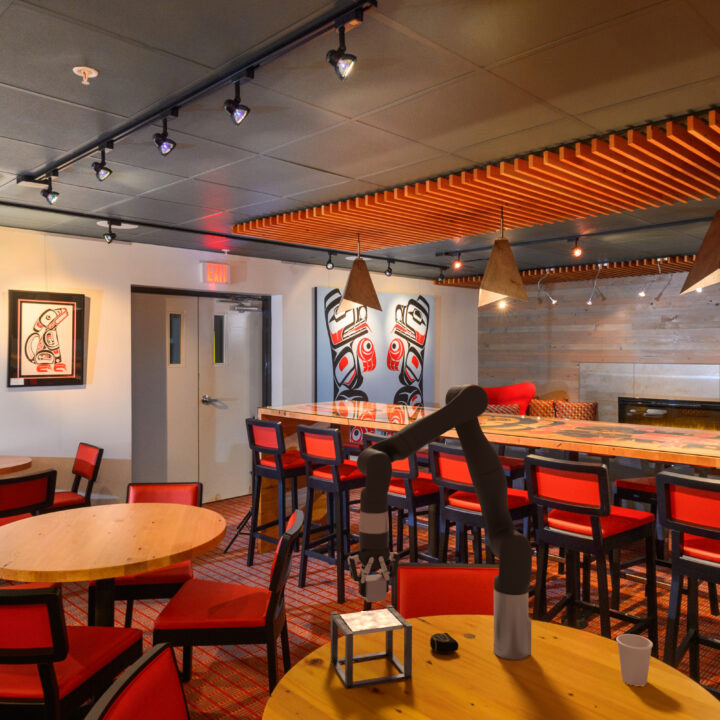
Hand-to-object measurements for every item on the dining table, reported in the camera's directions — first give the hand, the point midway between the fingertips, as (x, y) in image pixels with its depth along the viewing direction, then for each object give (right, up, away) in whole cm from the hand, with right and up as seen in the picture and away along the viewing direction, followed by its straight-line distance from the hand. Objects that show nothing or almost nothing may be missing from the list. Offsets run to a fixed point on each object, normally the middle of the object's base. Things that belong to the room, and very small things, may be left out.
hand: (373, 595), depth 161 cm
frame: (-1, -20, +1) cm, 20 cm away
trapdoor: (-1, -8, +2) cm, 8 cm away
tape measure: (+20, -20, +14) cm, 32 cm away
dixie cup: (+65, -20, -3) cm, 68 cm away
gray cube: (0, -1, 0) cm, 1 cm away
